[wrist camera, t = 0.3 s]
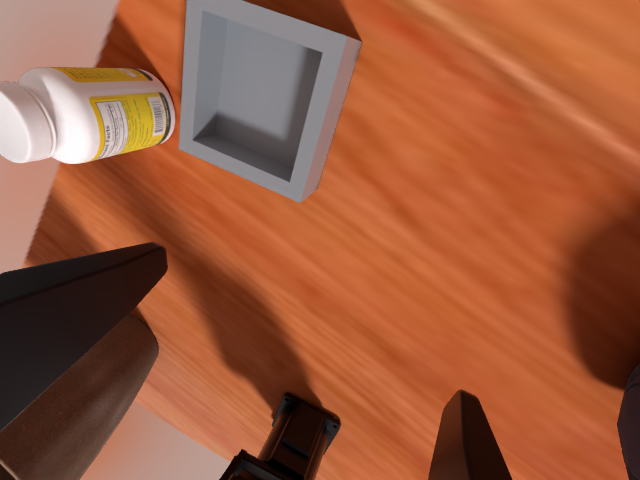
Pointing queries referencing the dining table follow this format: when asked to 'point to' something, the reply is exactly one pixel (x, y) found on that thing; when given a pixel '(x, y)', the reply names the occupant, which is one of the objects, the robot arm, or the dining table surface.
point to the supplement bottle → (82, 114)
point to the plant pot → (79, 408)
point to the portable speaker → (631, 425)
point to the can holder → (262, 93)
